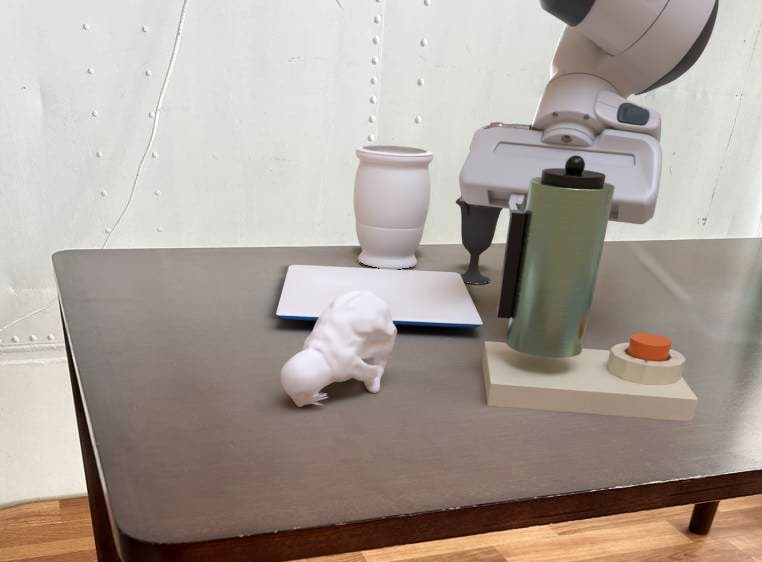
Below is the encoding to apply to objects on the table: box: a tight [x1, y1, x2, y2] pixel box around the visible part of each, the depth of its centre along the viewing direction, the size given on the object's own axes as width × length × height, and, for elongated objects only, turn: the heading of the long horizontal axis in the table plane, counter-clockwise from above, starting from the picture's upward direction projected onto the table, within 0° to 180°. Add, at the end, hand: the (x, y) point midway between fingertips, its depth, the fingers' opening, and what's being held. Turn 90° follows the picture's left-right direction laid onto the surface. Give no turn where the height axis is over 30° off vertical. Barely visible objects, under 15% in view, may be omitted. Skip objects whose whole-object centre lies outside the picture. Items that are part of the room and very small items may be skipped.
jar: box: [353, 144, 435, 270], centre depth 114 cm, size 11×10×15 cm
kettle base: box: [481, 340, 699, 423], centre depth 76 cm, size 18×12×4 cm, turn 85°
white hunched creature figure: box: [280, 290, 398, 408], centre depth 72 cm, size 6×8×12 cm
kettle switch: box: [627, 332, 673, 362], centre depth 75 cm, size 4×4×2 cm
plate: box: [275, 264, 484, 328], centre depth 98 cm, size 22×22×2 cm
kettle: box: [496, 155, 615, 358], centre depth 73 cm, size 8×10×16 cm
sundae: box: [455, 194, 504, 283], centre depth 108 cm, size 7×7×15 cm
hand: (539, 243), depth 83 cm, fingers closed on chess piece, 3 cm apart
